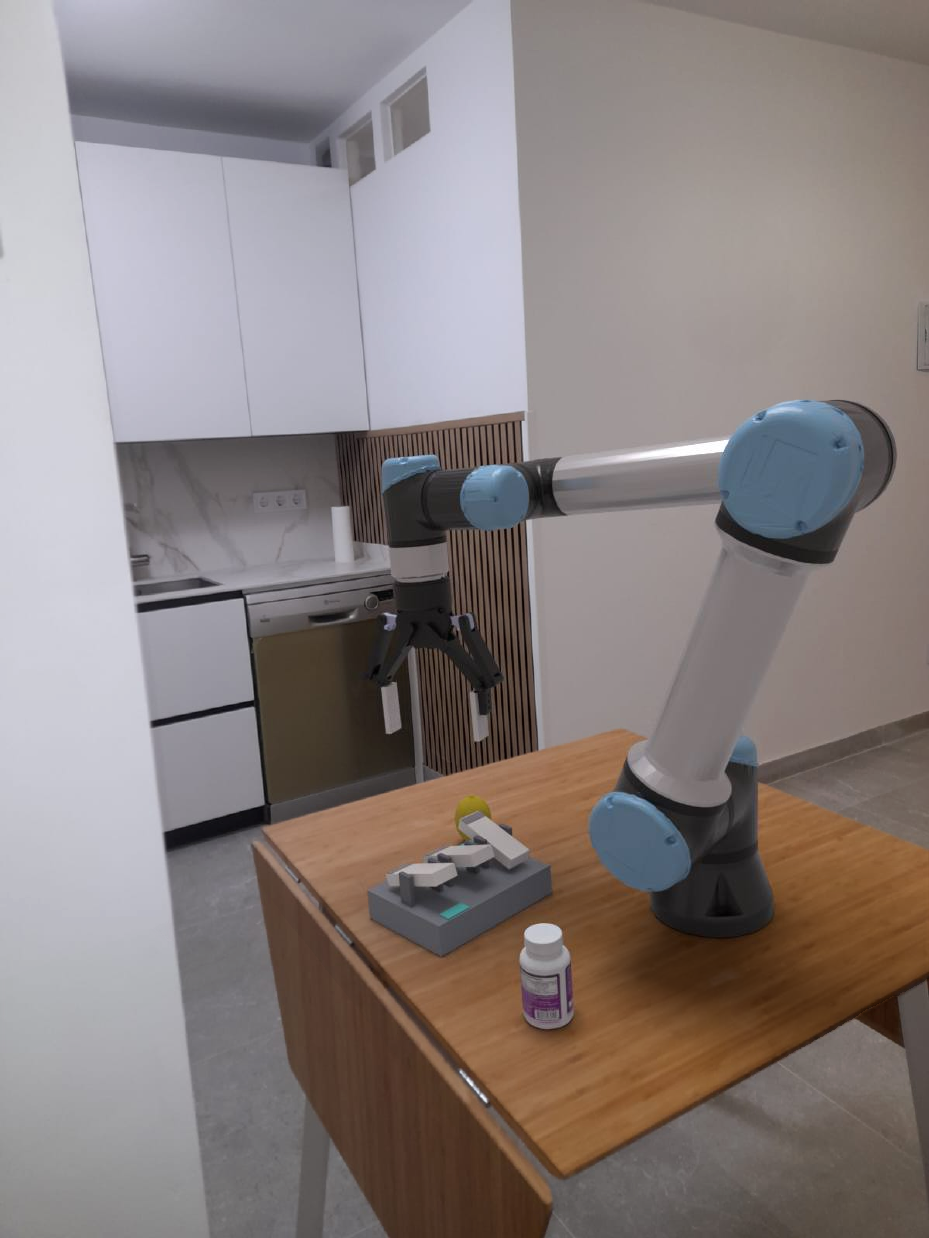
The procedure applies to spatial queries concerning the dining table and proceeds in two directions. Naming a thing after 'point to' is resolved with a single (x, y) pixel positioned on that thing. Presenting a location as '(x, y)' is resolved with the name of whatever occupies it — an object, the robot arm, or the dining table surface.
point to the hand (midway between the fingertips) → (436, 734)
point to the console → (459, 900)
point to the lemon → (470, 810)
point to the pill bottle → (546, 977)
